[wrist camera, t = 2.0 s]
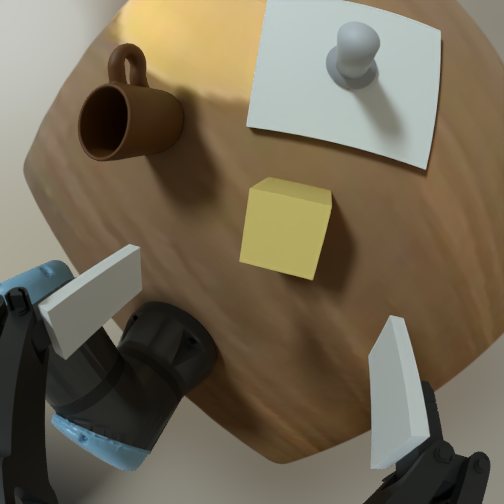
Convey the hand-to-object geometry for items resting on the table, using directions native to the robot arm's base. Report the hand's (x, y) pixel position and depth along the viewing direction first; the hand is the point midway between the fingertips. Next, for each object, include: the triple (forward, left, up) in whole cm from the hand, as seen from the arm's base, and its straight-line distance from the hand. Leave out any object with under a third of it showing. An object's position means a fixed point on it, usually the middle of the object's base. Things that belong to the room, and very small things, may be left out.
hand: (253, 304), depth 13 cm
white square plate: (+3, +16, -17) cm, 23 cm away
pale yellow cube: (0, 0, -17) cm, 17 cm away
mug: (-17, +10, -17) cm, 26 cm away
